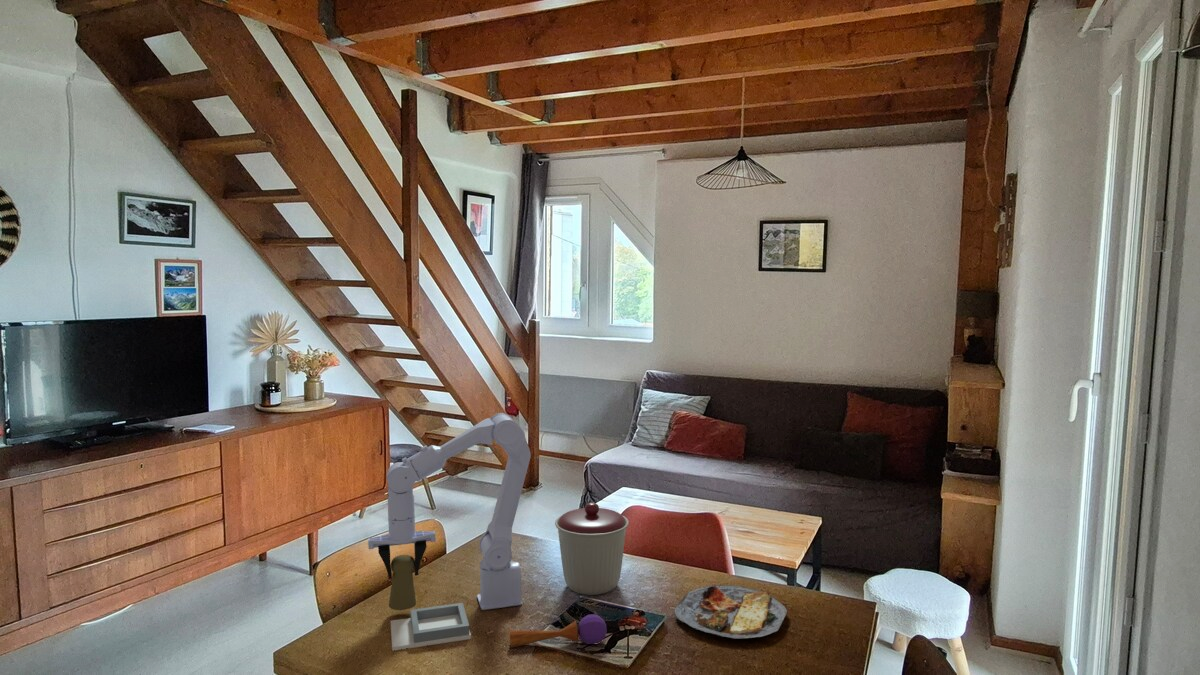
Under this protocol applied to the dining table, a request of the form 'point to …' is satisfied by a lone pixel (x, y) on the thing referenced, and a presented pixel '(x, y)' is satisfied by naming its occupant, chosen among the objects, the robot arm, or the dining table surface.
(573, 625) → the kendama
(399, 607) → the olive knobbed tapered peg
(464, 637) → the socket board
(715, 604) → the food plate
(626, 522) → the canister
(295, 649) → the dining table surface
